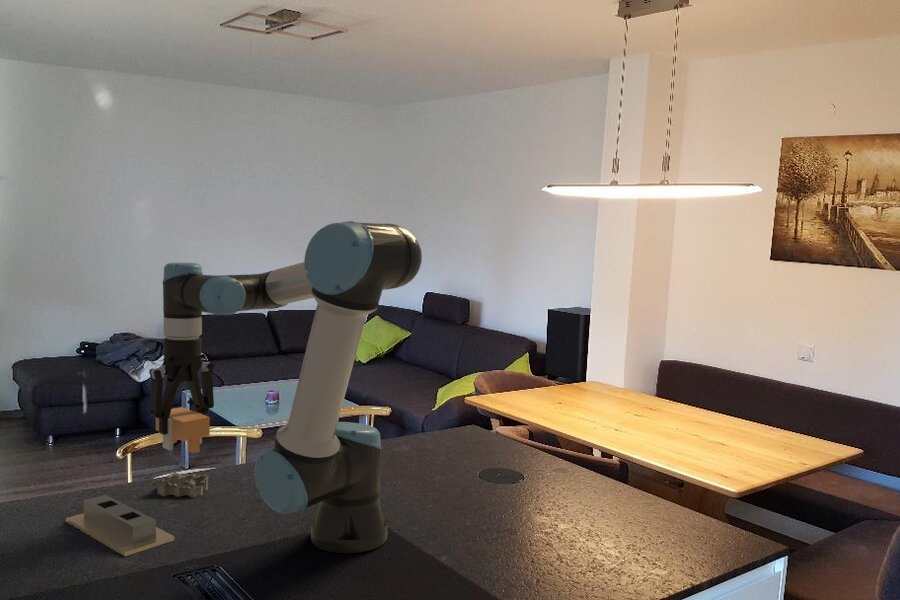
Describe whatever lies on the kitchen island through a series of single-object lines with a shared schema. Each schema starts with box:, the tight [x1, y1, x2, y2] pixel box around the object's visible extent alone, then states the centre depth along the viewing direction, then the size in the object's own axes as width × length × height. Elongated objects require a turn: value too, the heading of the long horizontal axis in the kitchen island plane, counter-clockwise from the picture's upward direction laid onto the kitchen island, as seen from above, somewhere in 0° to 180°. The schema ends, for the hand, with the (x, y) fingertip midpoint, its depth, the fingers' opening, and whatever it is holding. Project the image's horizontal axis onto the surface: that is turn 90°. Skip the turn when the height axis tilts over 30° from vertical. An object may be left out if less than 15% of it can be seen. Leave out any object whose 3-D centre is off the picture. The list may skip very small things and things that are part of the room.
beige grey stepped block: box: [65, 494, 175, 557], centre depth 149 cm, size 24×10×4 cm, turn 51°
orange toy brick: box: [155, 406, 211, 454], centre depth 157 cm, size 11×6×7 cm, turn 50°
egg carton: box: [155, 472, 210, 498], centre depth 172 cm, size 11×8×4 cm
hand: (182, 445), depth 157 cm, fingers closed on orange toy brick, 6 cm apart
